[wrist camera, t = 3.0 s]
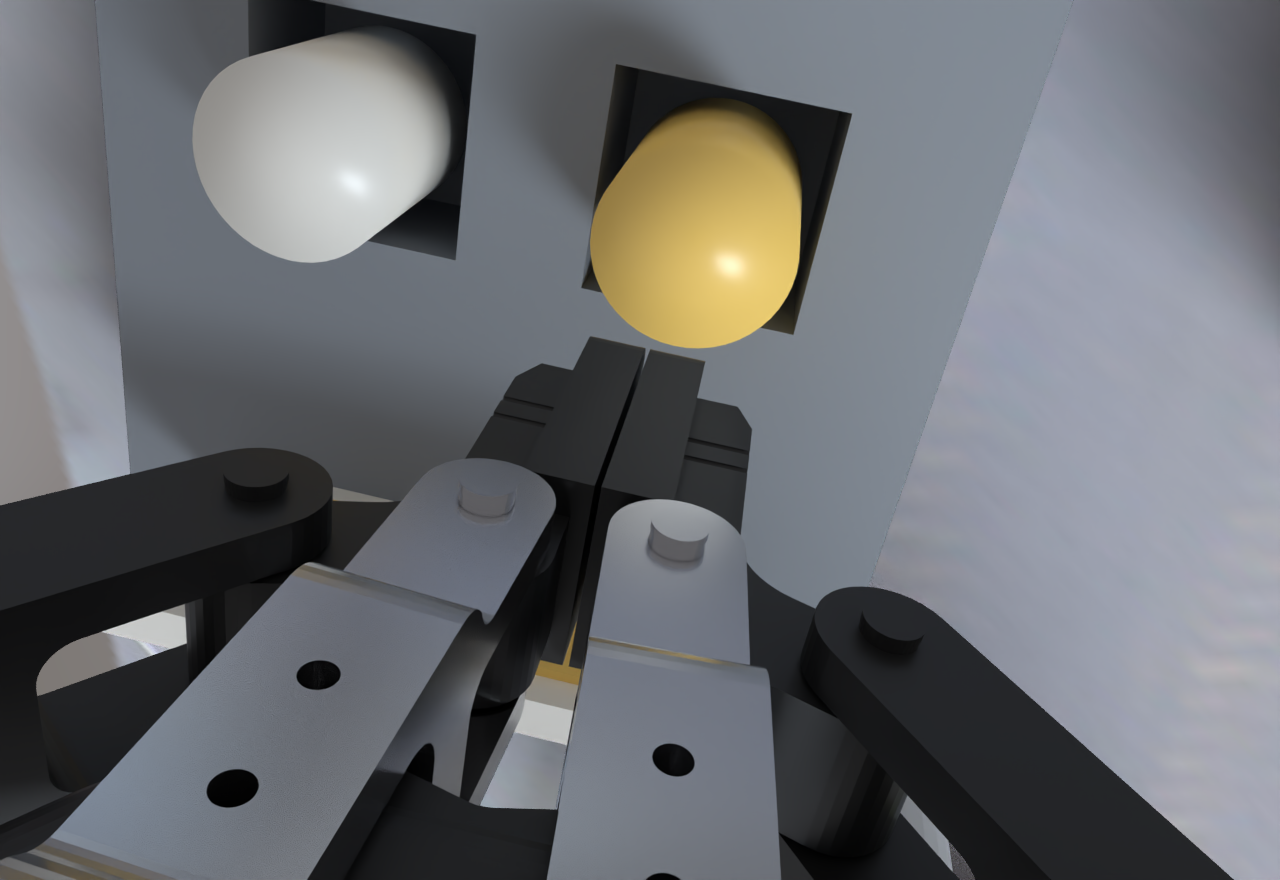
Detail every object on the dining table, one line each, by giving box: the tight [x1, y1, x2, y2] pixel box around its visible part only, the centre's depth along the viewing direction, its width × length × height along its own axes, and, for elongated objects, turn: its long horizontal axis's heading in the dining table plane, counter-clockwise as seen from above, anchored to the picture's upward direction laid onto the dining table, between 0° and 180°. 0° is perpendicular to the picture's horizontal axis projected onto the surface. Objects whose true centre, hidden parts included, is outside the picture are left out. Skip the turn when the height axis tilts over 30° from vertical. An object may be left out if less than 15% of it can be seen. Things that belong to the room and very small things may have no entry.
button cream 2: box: [192, 26, 467, 263], centre depth 22 cm, size 4×4×5 cm
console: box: [95, 0, 1074, 745], centre depth 22 cm, size 20×24×10 cm
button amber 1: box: [590, 98, 802, 348], centre depth 22 cm, size 4×4×5 cm
